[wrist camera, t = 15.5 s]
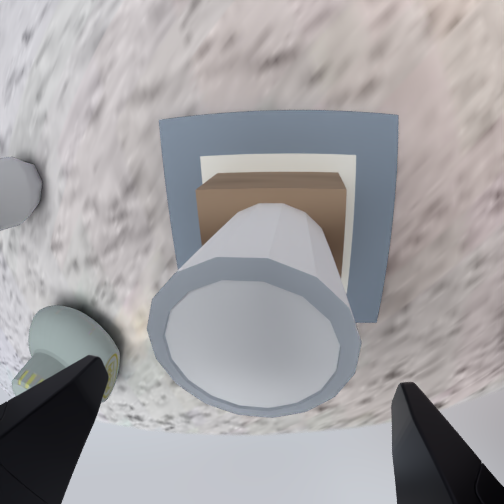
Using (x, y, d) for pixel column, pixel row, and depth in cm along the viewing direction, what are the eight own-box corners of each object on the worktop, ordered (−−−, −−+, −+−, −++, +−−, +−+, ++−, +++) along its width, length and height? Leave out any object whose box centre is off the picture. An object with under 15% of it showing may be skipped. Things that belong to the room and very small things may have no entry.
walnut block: (332, 280, 20) (336, 317, 17) (226, 277, 21) (211, 312, 18) (338, 172, 17) (346, 189, 14) (217, 173, 18) (195, 189, 15)
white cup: (178, 238, 16) (108, 320, 10) (290, 159, 14) (276, 206, 7) (257, 332, 18) (233, 434, 12) (367, 276, 15) (394, 380, 9)
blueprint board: (395, 114, 16) (398, 115, 15) (375, 317, 22) (376, 323, 21) (162, 119, 18) (158, 120, 17) (188, 309, 24) (185, 315, 23)
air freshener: (55, 279, 26) (-13, 342, 17) (128, 318, 26) (68, 401, 17) (60, 351, 31) (14, 410, 22) (120, 385, 31) (80, 454, 22)
